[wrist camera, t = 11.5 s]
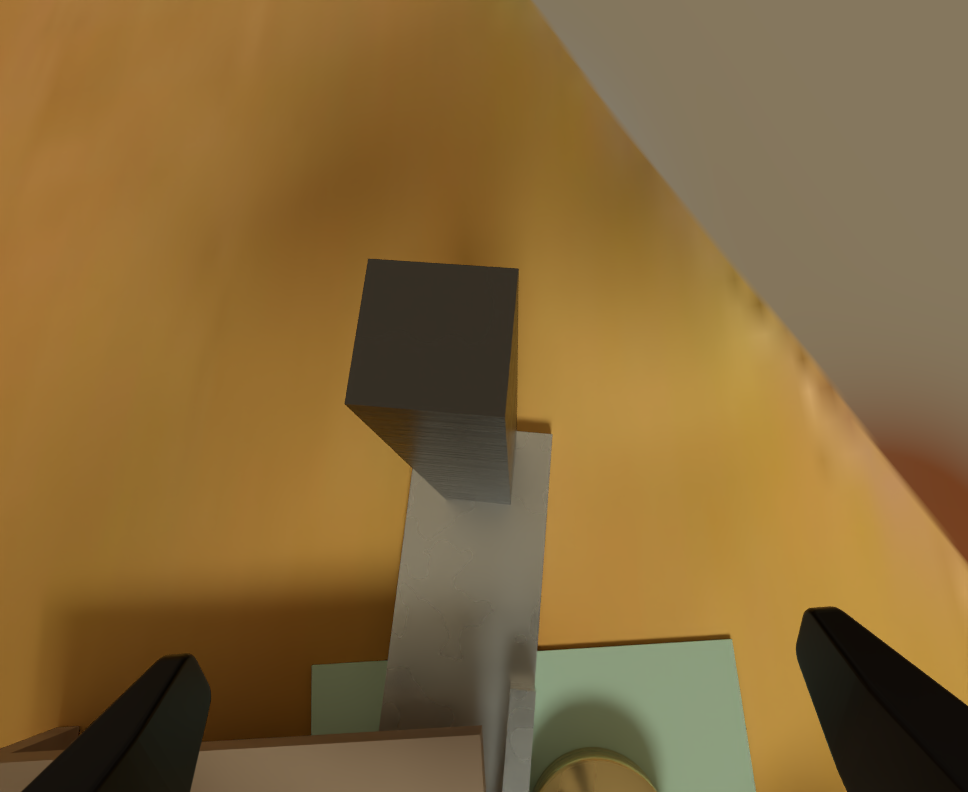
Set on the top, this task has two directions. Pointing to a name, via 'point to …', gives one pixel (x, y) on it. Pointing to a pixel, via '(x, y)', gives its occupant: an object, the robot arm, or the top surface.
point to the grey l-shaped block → (458, 502)
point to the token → (593, 773)
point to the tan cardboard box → (301, 761)
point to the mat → (600, 709)
